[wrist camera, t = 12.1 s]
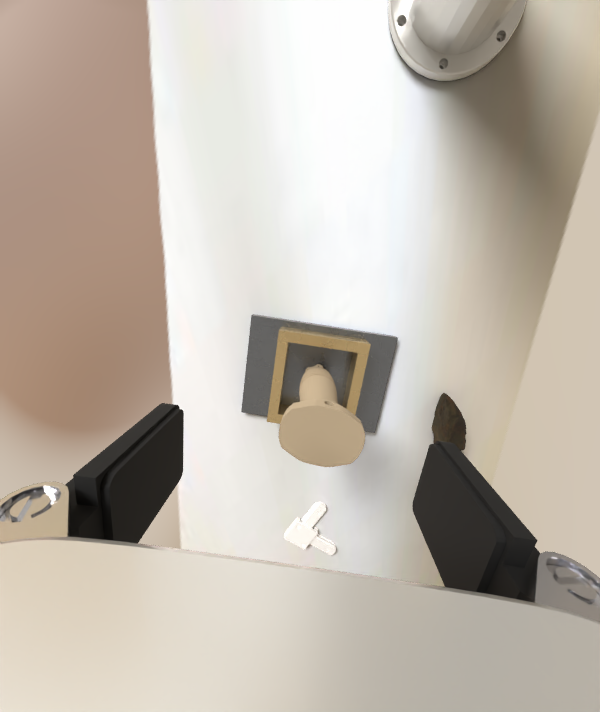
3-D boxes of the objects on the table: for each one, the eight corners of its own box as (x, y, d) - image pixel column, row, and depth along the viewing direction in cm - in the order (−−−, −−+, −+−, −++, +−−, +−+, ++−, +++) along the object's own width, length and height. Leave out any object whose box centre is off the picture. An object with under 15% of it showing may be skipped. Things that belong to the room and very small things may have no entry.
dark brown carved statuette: (449, 511, 41) (467, 538, 36) (422, 511, 41) (436, 539, 36) (462, 390, 36) (484, 405, 32) (431, 391, 36) (449, 406, 32)
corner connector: (356, 518, 42) (358, 527, 41) (327, 553, 44) (327, 562, 42) (312, 493, 41) (312, 501, 40) (284, 529, 43) (283, 538, 42)
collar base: (253, 314, 35) (246, 317, 31) (395, 336, 35) (405, 342, 31) (243, 408, 38) (235, 422, 34) (373, 428, 38) (380, 445, 34)
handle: (335, 398, 36) (354, 474, 21) (287, 386, 36) (272, 454, 21) (346, 363, 35) (372, 418, 20) (296, 351, 34) (287, 397, 20)
